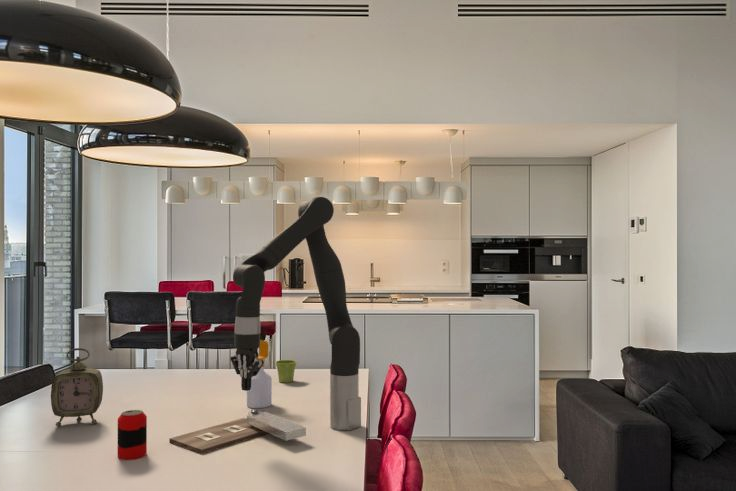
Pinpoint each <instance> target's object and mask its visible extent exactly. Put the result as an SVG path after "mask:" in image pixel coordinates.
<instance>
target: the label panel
mask: <svg viewBox="0 0 736 491" xmlns="http://www.w3.org/2000/svg"><path fill="white" fill-rule="evenodd" d="M267 434H269V433H268V432H265V431H263V430H261V429H259V428H256V427H254V426H252V425H250V424H247V417H242V418H239V419H235V420H231V421H227V422H224V423H221V424H217V425H213V426H210V427H206V428H203V429H199V430H195V431H191V432H188V433H184V434H181V435H178V436H177V435H176V436H174V437H173V436H172V437H171V438H169V440H168V441H169V444H173V445H176V446H178V447H181V448H184V449H186V450H190V451H192V452H195V453H198V454H200V455H203V454H205V453H209V452H213V451H215V450H216V451H217V450H219V449H221V448H224V447H228V446H231V445H235V444H237V443H240V442H244V441H247V440H250V439H254V438H257V437H259V436H263V435H267Z"/></svg>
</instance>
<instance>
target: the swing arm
mask: <svg viewBox="0 0 736 491" xmlns="http://www.w3.org/2000/svg"><path fill="white" fill-rule="evenodd" d="M246 419H247V424H250V425H252V426H254V427H256V428H259V429H261V430H263V431H265V432H268V433H267V434H270V435H272V436H274V437H277V438H279V439H282V440H283V441H286V442H287V441H291V440H294V439H297V438H302V437H306V436H307V427H305V426H303V425H300V424H298V423H295V422H293V421H290V420H288V419H284V418H282V417H280V416H277V415H275V414H272V413H270V412H268V411H262V412H261V411H259V409H251V410H250V412H248V415H246Z"/></svg>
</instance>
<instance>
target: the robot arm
mask: <svg viewBox="0 0 736 491" xmlns="http://www.w3.org/2000/svg"><path fill="white" fill-rule="evenodd" d="M334 212H335V210H334V205H333V203H332V201H330V199H329V198H327V197H324V196H315V197H312V198H309V199H306V200H304V201H302V202H301V203H300V205H299V206H298V211H297V215H298V218H297V219H296V220H295V221H294V222H292V224H290V225H289V226H287V227H286V228H285V229H284V230H282V231H280V232H279V233H277V234H276V235H275V236H273V237H272V238H271V239H270V240H269V241H268V242H266V243H265V245H263V246H262V247H261V248H260V249H259V250H258V251H257V252H256V253H254V254H253V255H251V256H250V257H248V258H247V259H245V260H244V261H242V262H241V263H240V264H239V265H238V266H237V267H236V268H235V269H234V272H233V275H232V280H233V283H234V284H235V285H236V286H237V287H240V288H242V292H241V296H239V297H238V298H236V299H237V300H236V303H235V304H236V305H235V320H234V321H235V322H234V336H233V337H234V340H233V341H234V343H233V344H234V348H235V350H236V351H235V355H233V356H231V357H230V362H231V364H232V366H233V369H234V370H235V373H236V375H239V376H240V378H241V379H240V380H241V383H240V384H241V390H242V391H245V392H247V391H248V390H250V389H251V378H252V377H253V376H256V375H257V374H258V372H259V370H260V369H261V367H262V365H264V364H265V361H264V359H263V360H261V361H260V359H259V358H258V355H259V347H260V340H261V309H260V308H261V300H262V297H263V292H264V287H265V285H266V284H265V283H266V276H265V272H267V271H270V270H273V269H274V268H276V267H277V266H278V265H279V264H281V262H282V261H283V260H284V259H285V258H287V256H288V255H289V254H290V253H292V252H293V251H294V249H295V248H296V247H298V246H299V245H300V244H301V243H302V242H304V240H306V244H307V247H308V252H309V256H310V260H311V265H312V268H313V273H314V278H315V282H316V286H317V289H318V293H319V296H320V299H321V303H322V305H323V309H324V310H325V316H326V323H327V328H328V329H327V330H328V338H329V339H328V340H329V342H330V344H331V362H330V366H329V368H330V370H329V372H330V375H329V382H330V383H329V388H330V390H329V394H330V395H329V397H330V398H329V399H330V400H329V404H330V406H329V408H330V409H329V411H330V414H329V418H330V419H329V420H330V428H331V429H334V430H339V431H349V432H350V431H351V430H354V429H357V428H360V427H362V397H361V396H359V380H360V379H359V378H360V377H359V374H360V372H359V371H360V370H359V369H360V364H361V337H360V334H359V331H358V330H357V329H356V328H355V327H354V325H353V323H352V320H351V317H350V313H349V310H348V305H347V290H346V289H347V287H346V281H345V274H344V271H343V267H342V263H341V261H340V258H339V257H338V256H337V253H336V252H335V251H334V249H333V248H332V246H331V245H330V243H329V240H328V238H327V235H326V232H325V230H326V229H325V228H324V227H325V226H324V225H326V224H327V223H329V222H330V221H331V220H332V218H333V216H334Z"/></svg>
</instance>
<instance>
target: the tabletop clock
mask: <svg viewBox="0 0 736 491" xmlns="http://www.w3.org/2000/svg"><path fill="white" fill-rule="evenodd" d="M74 351H84V352H85V353H87V356H85V357H84V358H83V357H82V358H81V357H80V356H76V357H75V358H71V357H70V356H69V354H70V353H71V352H74ZM89 357H90V352H89V350H87V349H85V348H82V347H77V348H72V349H70V350H69V351H67V353H66V358H67V360H69V361H72V362H73V363H72V364H71V365H70V366H69V368H68V369H64V370H62V371H59V373H57V374H56V375H55V376H54V378H53V380H52V382H51V391H50V402H51V403H50V404H51V409H52V410H51V411H52V412H53V414H54V416H57V417H60V418H59V420H58V421H57V422H55V427H56V428H59V427H61V426H62V423H61V422H62V421H63V419H64V418H76V417H77V418H76V422H77V423H81V422H82V417H85V416H89V417H90V418H91V425H96V424H97V422H98V421H97V419H96V418H94V413H96V412H97V411H98V409H100V407H101V405H102V400H103V394H104V382H103V375H102V372H101V370H100V369H98V368H94V367H93V368H91V367H87V365H86V363H85V362H83V361H85V360H87V359H89Z"/></svg>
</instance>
